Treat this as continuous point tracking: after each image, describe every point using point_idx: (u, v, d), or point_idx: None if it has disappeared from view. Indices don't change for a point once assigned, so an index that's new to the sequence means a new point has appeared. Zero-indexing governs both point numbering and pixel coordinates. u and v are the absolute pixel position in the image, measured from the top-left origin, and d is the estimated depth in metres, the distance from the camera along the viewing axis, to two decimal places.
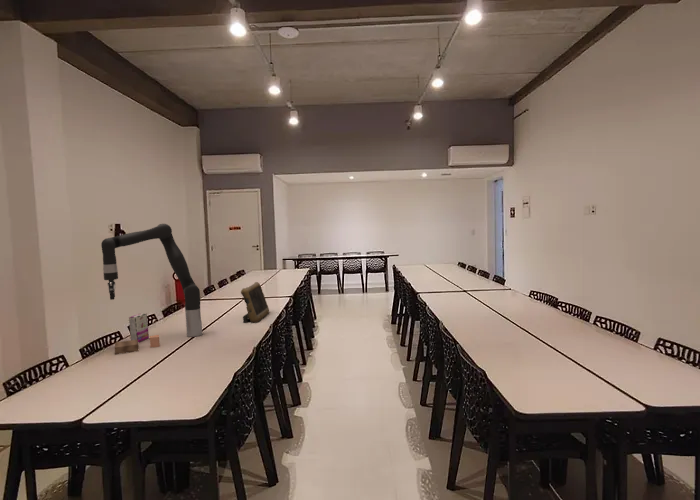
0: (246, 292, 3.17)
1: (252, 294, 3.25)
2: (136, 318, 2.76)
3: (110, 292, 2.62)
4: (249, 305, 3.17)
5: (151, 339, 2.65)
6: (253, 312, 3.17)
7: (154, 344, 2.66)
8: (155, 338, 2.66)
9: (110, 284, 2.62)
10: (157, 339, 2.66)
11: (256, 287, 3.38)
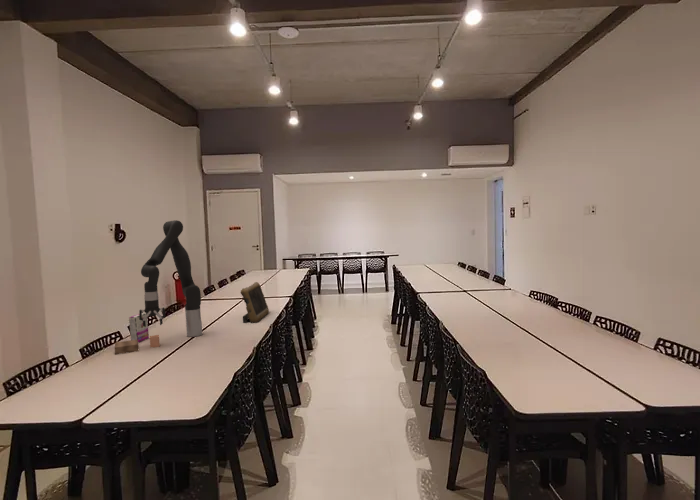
0: (246, 292, 3.17)
1: (252, 294, 3.25)
2: (136, 318, 2.76)
3: None
4: (249, 305, 3.17)
5: (151, 339, 2.65)
6: (253, 312, 3.17)
7: (154, 344, 2.66)
8: (155, 338, 2.66)
9: (164, 309, 2.69)
10: (157, 339, 2.66)
11: (256, 287, 3.38)
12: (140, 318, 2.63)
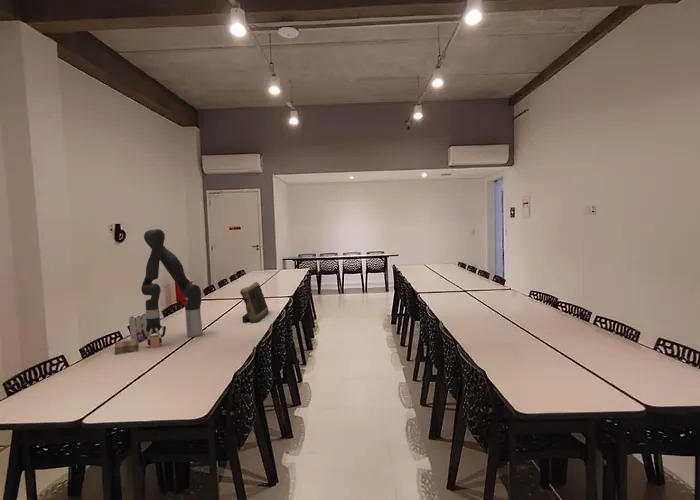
0: (245, 292, 3.17)
1: (251, 294, 3.25)
2: (136, 318, 2.76)
3: (164, 335, 2.70)
4: (248, 305, 3.17)
5: (151, 339, 2.65)
6: (252, 312, 3.17)
7: (154, 344, 2.66)
8: (155, 338, 2.66)
9: (165, 328, 2.70)
10: (157, 339, 2.66)
11: (255, 287, 3.38)
12: (145, 337, 2.65)
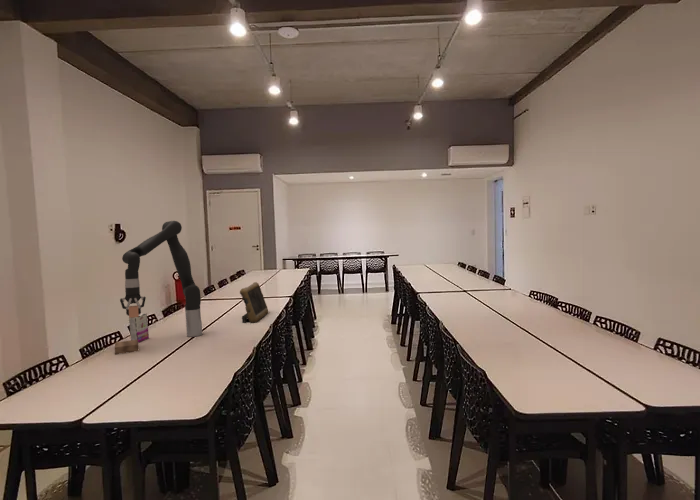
0: (245, 292, 3.17)
1: (251, 294, 3.25)
2: (136, 318, 2.76)
3: (143, 306, 2.64)
4: (248, 305, 3.17)
5: (130, 309, 2.59)
6: (252, 312, 3.17)
7: (133, 314, 2.60)
8: (134, 308, 2.60)
9: (145, 298, 2.64)
10: (136, 309, 2.60)
11: (255, 287, 3.38)
12: (123, 306, 2.59)
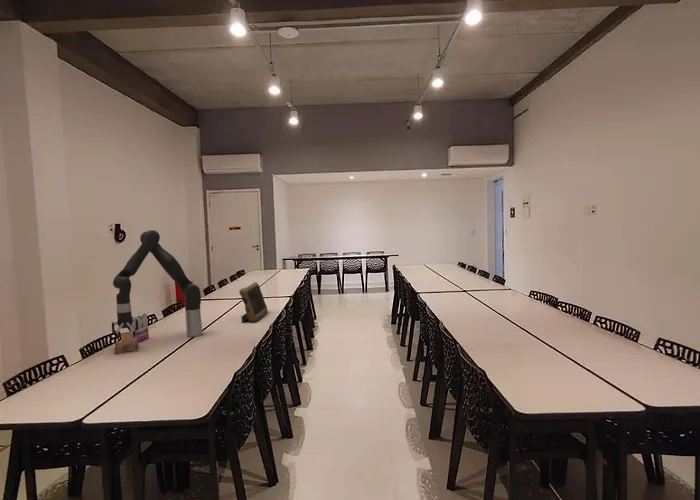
0: (244, 292, 3.17)
1: (250, 294, 3.25)
2: (136, 318, 2.76)
3: None
4: (247, 305, 3.17)
5: (122, 336, 2.58)
6: (252, 312, 3.17)
7: (125, 341, 2.59)
8: (126, 335, 2.59)
9: None
10: (128, 336, 2.60)
11: (255, 287, 3.38)
12: (113, 331, 2.57)
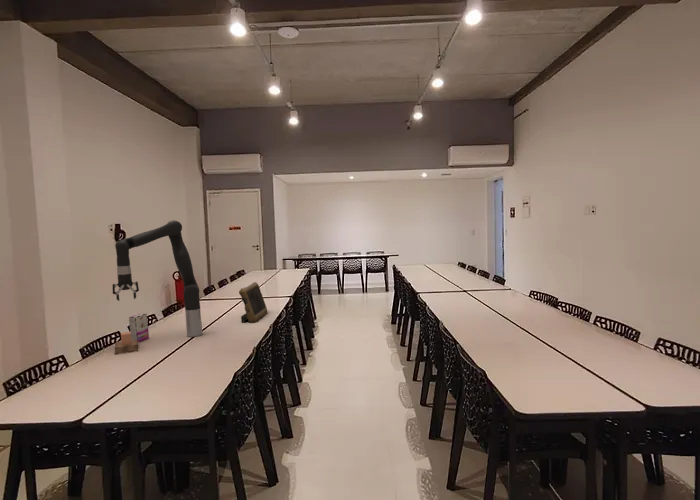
0: (244, 292, 3.17)
1: (250, 294, 3.25)
2: (136, 318, 2.76)
3: (138, 290, 2.74)
4: (247, 305, 3.17)
5: (122, 336, 2.58)
6: (251, 312, 3.17)
7: (125, 341, 2.59)
8: (126, 335, 2.59)
9: (137, 283, 2.74)
10: (128, 336, 2.60)
11: (254, 287, 3.38)
12: (113, 292, 2.67)
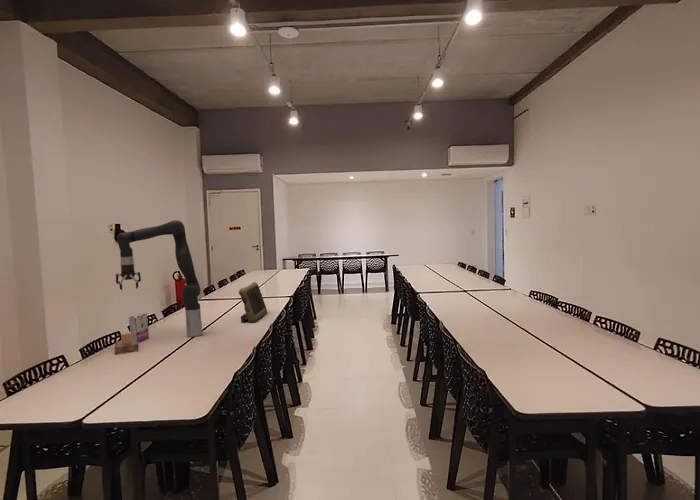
0: (244, 292, 3.17)
1: (250, 294, 3.25)
2: (136, 318, 2.76)
3: (140, 280, 2.87)
4: (247, 305, 3.17)
5: (122, 336, 2.58)
6: (251, 312, 3.18)
7: (125, 341, 2.59)
8: (126, 335, 2.59)
9: None
10: (128, 336, 2.60)
11: (254, 287, 3.38)
12: (117, 281, 2.81)
